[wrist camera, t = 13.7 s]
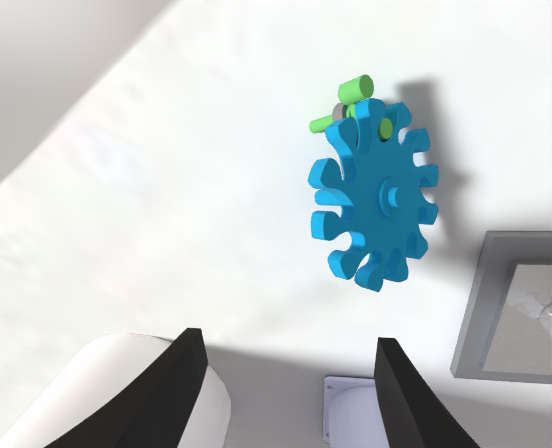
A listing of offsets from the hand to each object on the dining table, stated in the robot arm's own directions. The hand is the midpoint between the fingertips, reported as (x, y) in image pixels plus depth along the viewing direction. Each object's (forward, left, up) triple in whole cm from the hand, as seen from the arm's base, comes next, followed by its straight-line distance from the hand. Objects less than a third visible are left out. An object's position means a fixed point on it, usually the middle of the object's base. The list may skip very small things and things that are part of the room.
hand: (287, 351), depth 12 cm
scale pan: (-6, -18, -10) cm, 21 cm away
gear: (+5, -5, -11) cm, 13 cm away
